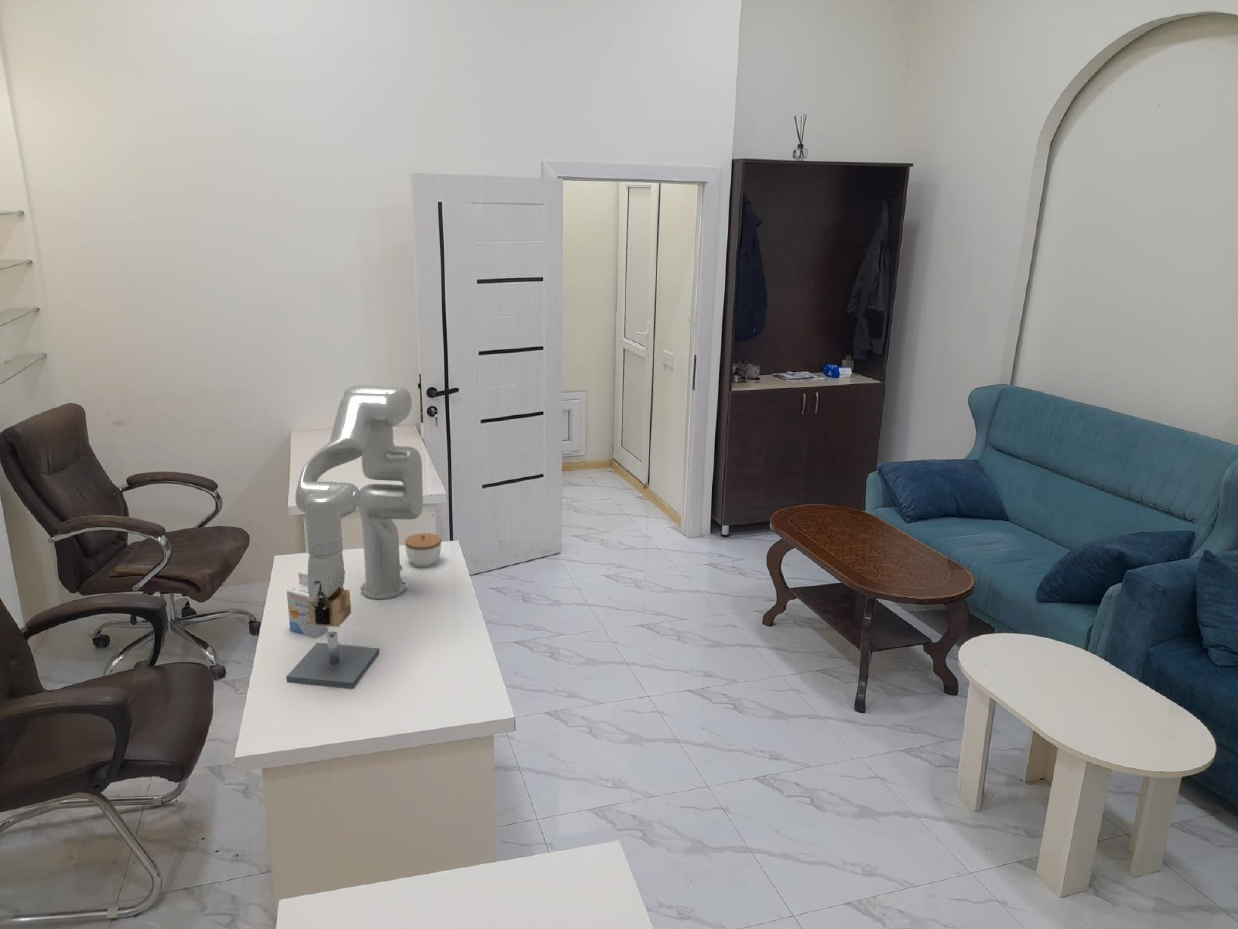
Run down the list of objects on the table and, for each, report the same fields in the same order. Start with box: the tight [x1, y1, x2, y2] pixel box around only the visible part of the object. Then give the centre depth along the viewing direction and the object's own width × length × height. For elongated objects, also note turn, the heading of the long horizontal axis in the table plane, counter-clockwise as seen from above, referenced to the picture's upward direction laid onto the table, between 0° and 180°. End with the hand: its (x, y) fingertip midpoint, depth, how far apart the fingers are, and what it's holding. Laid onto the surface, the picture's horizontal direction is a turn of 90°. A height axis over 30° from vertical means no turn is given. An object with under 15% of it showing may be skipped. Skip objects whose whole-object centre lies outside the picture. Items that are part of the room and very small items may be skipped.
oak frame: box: [308, 589, 352, 628], centre depth 207 cm, size 7×7×6 cm
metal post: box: [326, 631, 339, 665], centre depth 211 cm, size 2×2×8 cm
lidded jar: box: [404, 532, 442, 568], centre depth 269 cm, size 11×11×9 cm
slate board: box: [285, 642, 380, 689], centre depth 212 cm, size 16×16×2 cm
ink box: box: [286, 572, 328, 639], centre depth 227 cm, size 8×5×15 cm, turn 67°
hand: (330, 615), depth 208 cm, fingers closed on oak frame, 7 cm apart
